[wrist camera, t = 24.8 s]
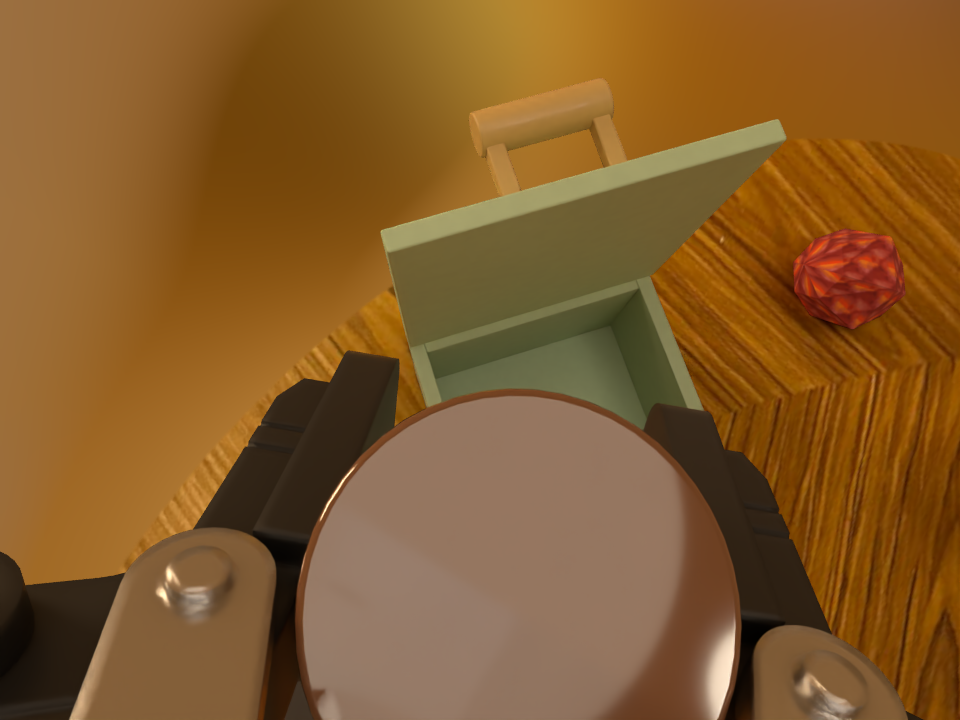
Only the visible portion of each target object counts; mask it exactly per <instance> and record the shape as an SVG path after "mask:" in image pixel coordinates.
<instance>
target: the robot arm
mask: <svg viewBox="0 0 960 720" xmlns="http://www.w3.org/2000/svg"><path fill="white" fill-rule="evenodd" d="M398 380H399V359H396V358H390V357H384V356H378V355H372V354H367V353H361V352H355V351H347V352H346V353H345V355H344V357H343V358H342V360H341V362H340V364H339V366H338V368H337V370H336V372H335V374H334V376H333V378H332V380H331V381H330V383H329V382H323V381H317V380H311V379H305V378H304V379H303V380H301V381H300V382H298V383H297V384H295V385H294V386H292V387H290V388H289V389H287V390H286V391H284V392H283V393H281V394H280V395H278V396H277V397H276V399H275V400H274V402H273V403H272V405H271V407H270V408H269V410H268V411H267V413H266V415H265V416H264V418H263V419H262V422H261V426H258V427H257V429H256V430H255V432H254V434H253V435H252V437H251V438H250V440H249V444H248V447H245V448H244V449H243V451H242V453H241V454H240V456H239V457H238V459H237V461H236V462H235V464H234V465H233V467H232V469H231V470H230V472H229V473H228V475H227V476H226V478H225V480H224V481H223V483H222V484H221V486H220V488H219V489H218V491H217V492H216V494H215V496H214V497H213V499H212V500H211V502H210V503H209V505H208V507H207V508H206V510H205V511H204V513H203V515H202V516H201V518H200V519H199V521H198V523H197V524H196V526H195V527H194V529H193V530H189V531H185V532H182V533H179V534H175V535H173V536H171V537H169V538H166V539H164V540H162V541H160V542H159V543H157V544H155V545H153V546H152V547H150V548H149V549H148V550H147V551H145V552H144V553H143V554H141V555H140V556H139V557H138V558H137V559H136V560H135V561H134V562H133V563H132V565H131V566H130V568H129V569H128V570H127V572H126V573H122V574H118V575H114V576H108V577H101V578H93V579H84V580H73V581H64V582H53V583H44V584H34V585H25V583H24V580H23V577H22V573H21V570H20V568H19V567H18V565H17V564H16V562H15V561H14V560H13V559H11V558H10V557H9V556H8V555H6V554H4V553H2V552H0V720H284V719H285V716H286V713H287V710H288V708H289V705H290V702H291V699H292V696H293V693H294V690H295V688H296V685H297V682H301V681H300V675H299V669H298V663H297V657H296V651H295V630H294V614H295V601H296V589H297V584H298V579H299V574H300V569H301V564H302V560H303V556H304V553H305V550H306V547H307V544H308V541H309V538H310V535H311V532H312V530H313V527H314V525H315V523H316V521H317V519H318V517H319V515H320V513H321V511H322V509H323V507H324V505H325V503H326V501H327V499H328V498H329V496H330V495H331V493H332V492H333V490H334V489H335V487H336V486H337V484H338V482H339V481H340V479H341V478H342V477H343V475H344V474H345V473H346V472H347V471H348V469H349V468H350V467H351V466H352V465H353V464H354V462H355V461H356V460H357V459H358V458H359V456H360V455H361V454H362V453H363V452H365V451H366V450H367V449H368V448H369V447H370V446H371V445H372V444H373V443H374V442H375V441H377V440H378V439H379V438H380V437H381V436H382V435H384V434H385V433H386V432H388V431H389V430H391V429H392V428H393V427H394V423H395V412H396V401H397V390H398ZM643 431H644V432H645V433H647V434H648V435H649V436H651V437H652V438H653V439H654V440H656V441H657V442H658V443H659V444H660V445H661V446H662V447H663V448H664V449H665V450H666V451H668V452H669V453H670V454H671V455H672V456H673V457H674V458H675V459H676V460H677V461H678V462H679V464H680V465H681V466H682V467H683V469H684V470H685V471H686V472H687V474H688V475H689V476H690V477H691V479H692V480H693V481H694V482H695V484H696V485H697V487H698V488H699V490H700V491H701V493H702V495H703V496H704V498H705V500H706V501H707V503H708V505H709V506H710V508H711V509H712V511H713V514H714V516H715V518H716V520H717V522H718V524H719V527H720V529H721V531H722V533H723V535H724V538H725V541H726V544H727V547H728V550H729V553H730V556H731V560H732V563H733V566H734V571H735V576H736V582H737V587H738V592H739V600H740V614H741V644H740V660H739V665H738V671H737V677H736V682H735V688H734V692H733V695H732V698H731V701H730V704H729V708H728V711H727V714H726V717H725V720H923V719H921V718H919V717H917V716H915V715H913V714H911V713H909V712H907V711H905V708H904V705H903V703H902V701H901V699H900V697H899V695H898V693H897V692H896V690H895V689H894V687H893V686H892V684H891V683H890V681H889V680H888V679H887V678H886V676H885V675H884V674H883V673H882V672H881V670H880V669H879V668H878V667H877V666H876V665H875V664H874V663H873V662H871V661H870V660H869V659H868V658H867V657H866V656H865V655H863V654H862V653H861V652H860V651H858V650H857V649H855V648H854V647H852V646H851V645H849V644H848V643H846V642H845V641H843V640H841V639H839V638H837V637H835V636H834V635H832V633H831V631H830V628H829V626H828V624H827V621H826V619H825V617H824V614H823V612H822V609H821V607H820V605H819V602H818V600H817V598H816V595H815V593H814V590H813V588H812V586H811V583H810V581H809V579H808V576H807V574H806V571H805V569H804V567H803V564H802V562H801V560H800V557H799V555H798V552H797V550H796V548H795V545H794V543H793V540H791V539H789V531H788V529H787V526H786V524H785V521H784V519H783V517H782V515H781V514H779V513H778V511H779V507H778V505H777V502H776V500H775V498H774V495H773V493H772V491H771V488H770V486H769V483H768V481H767V479H766V478H765V477H764V476H763V475H762V474H761V473H760V472H759V471H758V470H757V468H756V467H755V466H754V465H753V464H752V463H751V462H750V461H749V460H748V459H747V458H746V457H745V455H744V454H743V453H741V452H735V451H729V450H724V448H723V445H722V442H721V439H720V436H719V434H718V431H717V428H716V425H715V423H714V420H713V417H712V415H711V414H710V413H709V412H708V411H702V410H696V409H690V408H684V407H679V406H673V405H667V404H661V403H656V404H654V405H653V407H652V408H651V410H650V412H649V415H648V417H647V420H646V423H645V426H644V429H643Z"/></svg>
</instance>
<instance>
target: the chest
mask: <svg viewBox="0 0 960 720" xmlns="http://www.w3.org/2000/svg"><path fill="white" fill-rule="evenodd" d="M409 348H410V352H411V356H412V360H413V364H414V368H415V371H416V375H417V379H418V382H419V385H420V388H421V392H422V395H423V398H424V401H425V405H426V408H427V407H430V406H432V405H435V404H438V403H440V402H443V401H445V400H448V399H451V398H453V397H457V396H461V395H466V394H470V393H474V392H478V391H485V390H495V389H505V388H520V389H538V390H545V391H551V392H558V393H563V394H566V395H570V396H573V397H577V398H580V399H584V400H587V401H589V402H592V403H594V404H596V405H599V406H601V407H603V408H606V409H608V410H610V411H613V412H614V413H616V414H618V415H619V416H621V417H623V418H624V419H626V420H628V421H630V422H631V423H633V424H635V425H636V426H638V427H639V428H640V429H641V430H643V429H644V426H645V423H646V420H647V417H648V415H649V412H650V410H651V408H652V407H653V405H654V404H656V403H661V404H667V405H673V406H679V407H684V408H690V409H696V410H702V411H704V410H703V407H702V405H701V402H700V400H699V397H698V395H697V392H696V390H695V387H694V385H693V382H692V380H691V378H690V375H689V373H688V370H687V368H686V365H685V363H684V360H683V358H682V355H681V353H680V350H679V348H678V345H677V343H676V340H675V338H674V335H673V333H672V330H671V328H670V325H669V323H668V320H667V318H666V316H665V313H664V311H663V308H662V306H661V303H660V301H659V298H658V296H657V293H656V291H655V288H654V286H653V283H652V281H651V278H650V276H647V277H643V278H640V279H637V280H633V281H630V282H627V283H623V284H620V285H617V286H613V287H610V288H607V289H603V290H600V291H597V292H593V293H590V294H587V295H584V296H580V297H577V298H574V299H570V300H567V301H564V302H560V303H557V304H554V305H550V306H547V307H544V308H540V309H537V310H534V311H530V312H527V313H524V314H521V315H517V316H514V317H511V318H507V319H504V320H501V321H497V322H494V323H491V324H487V325H484V326H481V327H477V328H474V329H471V330H467V331H464V332H461V333H457V334H454V335H451V336H448V337H444V338H441V339H438V340H434V341H431V342H428V343H424V344H421V345H418V346H414V347H409Z"/></svg>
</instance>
